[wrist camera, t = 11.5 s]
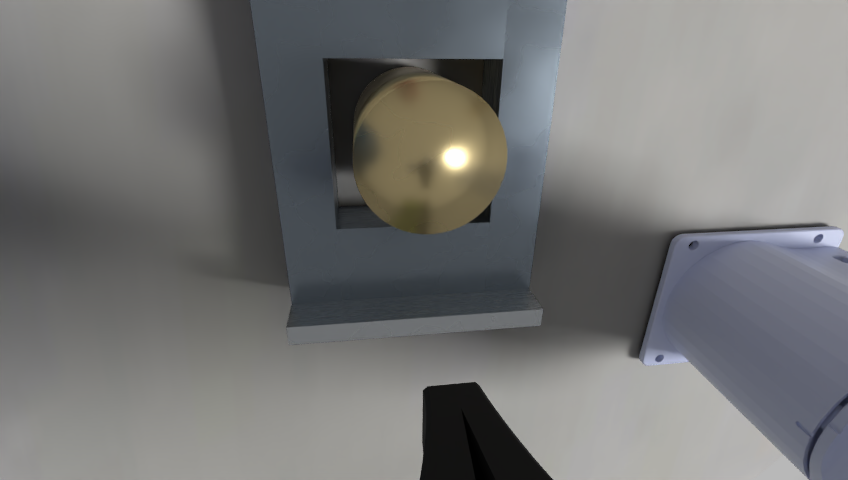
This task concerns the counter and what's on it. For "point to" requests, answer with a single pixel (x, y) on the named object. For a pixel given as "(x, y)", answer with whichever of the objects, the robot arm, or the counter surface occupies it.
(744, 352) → the robot arm
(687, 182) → the counter surface
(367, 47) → the frame
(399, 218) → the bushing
